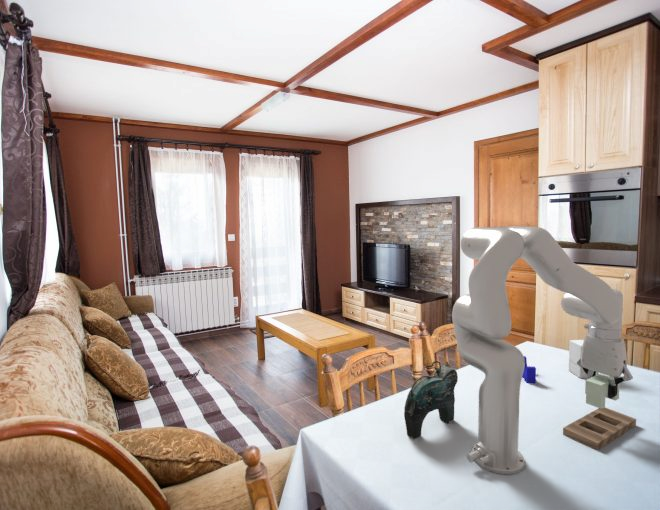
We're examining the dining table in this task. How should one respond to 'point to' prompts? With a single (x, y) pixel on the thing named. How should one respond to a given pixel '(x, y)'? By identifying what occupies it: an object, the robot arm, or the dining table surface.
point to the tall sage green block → (598, 390)
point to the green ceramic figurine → (430, 398)
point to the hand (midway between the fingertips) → (602, 393)
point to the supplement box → (576, 358)
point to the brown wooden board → (599, 427)
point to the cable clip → (529, 373)
